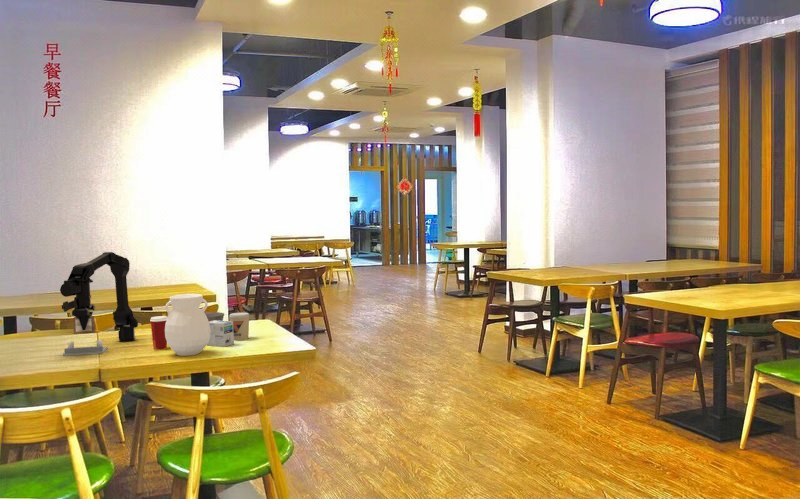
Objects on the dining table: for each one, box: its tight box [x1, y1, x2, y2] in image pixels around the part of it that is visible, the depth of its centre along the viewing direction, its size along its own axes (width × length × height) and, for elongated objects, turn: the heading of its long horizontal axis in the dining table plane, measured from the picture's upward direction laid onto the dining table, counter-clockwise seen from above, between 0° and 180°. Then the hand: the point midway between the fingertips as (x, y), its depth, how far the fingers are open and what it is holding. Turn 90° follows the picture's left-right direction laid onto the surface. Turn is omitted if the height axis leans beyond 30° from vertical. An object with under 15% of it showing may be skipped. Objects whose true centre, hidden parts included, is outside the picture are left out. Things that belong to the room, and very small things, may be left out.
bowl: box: [204, 311, 225, 321], centre depth 338 cm, size 21×21×10 cm
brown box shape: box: [72, 315, 96, 335], centre depth 297 cm, size 8×3×7 cm, turn 105°
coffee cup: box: [228, 312, 250, 341], centre depth 322 cm, size 9×9×12 cm
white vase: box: [164, 293, 210, 357], centre depth 289 cm, size 19×18×25 cm
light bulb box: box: [206, 320, 235, 348], centre depth 308 cm, size 11×7×11 cm, turn 65°
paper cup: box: [149, 315, 168, 351], centre depth 303 cm, size 8×8×14 cm
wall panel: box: [62, 339, 108, 357], centre depth 298 cm, size 16×11×5 cm
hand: (84, 329), depth 297 cm, fingers closed on brown box shape, 3 cm apart
